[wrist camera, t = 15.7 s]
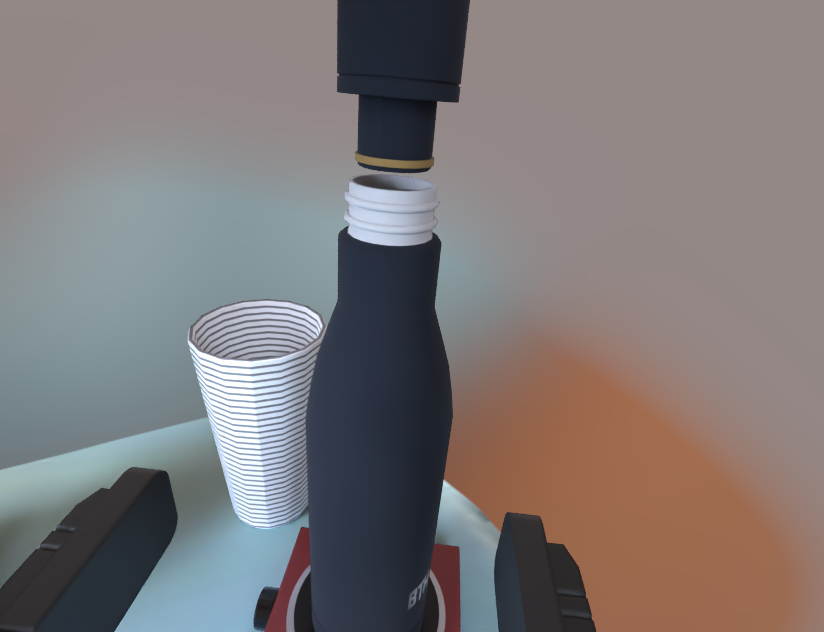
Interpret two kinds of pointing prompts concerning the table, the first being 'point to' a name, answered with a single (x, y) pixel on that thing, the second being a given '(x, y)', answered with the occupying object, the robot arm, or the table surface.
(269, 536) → the table surface
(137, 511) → the robot arm
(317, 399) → the water bottle
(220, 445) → the cup
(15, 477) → the table surface
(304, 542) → the hot plate
